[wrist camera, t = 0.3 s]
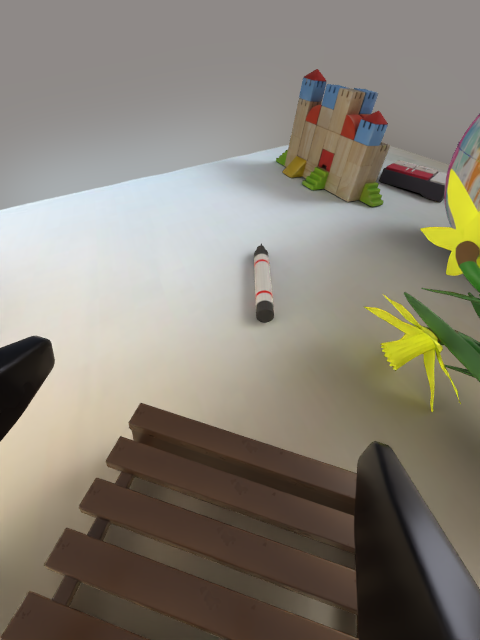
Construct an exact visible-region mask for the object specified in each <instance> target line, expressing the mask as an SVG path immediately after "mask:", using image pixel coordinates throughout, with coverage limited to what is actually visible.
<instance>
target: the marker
mask: <svg viewBox="0 0 480 640" xmlns="http://www.w3.org/2000/svg"><path fill="white" fill-rule="evenodd" d="M254 271H255V299H256V316H257V319H258V320H259V321H261V322H269V321H271V320H272V319H273V318H274V310H273V297H272V286H271V276H270V266H269V258H268V252H267V250H265V248H264V246H262V244H261V246H258V247H257V250H256V251H255V253H254Z"/></svg>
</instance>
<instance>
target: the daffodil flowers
mask: <svg viewBox="0 0 480 640" xmlns="http://www.w3.org/2000/svg"><path fill="white" fill-rule="evenodd" d="M447 194H448V204H449V207H450V210H451V213H452V216H453V219H454V222H455V226H456V229H453V228H451V227H427V228H421V229H420V230H421V231H422V232H423V233H424V235H425V236H426V237H427V239H428V240H429V241H430V242H432V243H433V244H435V245H436V246H439V247H442V248H445V249H448V250H451V254H450V256H449V259H448V264H447V270H446V274H447V275H453V276H456V275H459V274H464V276H465V277H466V279H467V280H468V281H469V282H470V283H471V284H472V286H473V287H474V288H475V289H476V290H477V291H478V292H479V293H480V211H479V212H478V211H477V209H476V207H475V205H474V204H473V202H472V200H471V198H470V196H469V194H468V193H467V191H466V189H465V187H464V186H463V184H462V182H461V181H460V179H459V177H458V176H457V175H456V173H455V172H454V171H453V170H452V169H451V170H450V176H449V183H448V188H447ZM422 289H425V288H422ZM425 290H428V291H432V292H437V293H442V294H447V295H451V296H455V297H458V298H462V299H465V300H469V301H471V303H472V305H473V307H474V309H475V311H476V313H477V315H478V316H479V318H480V299H479V298H475V297H474V296H473V295H472V294H471V293H468V295H469V296H467V295H462V294H458V293H454V292H448V291H440V290H432V289H425ZM383 295H384V294H383ZM404 295H405V297H406V298H407V300H408V302H409V303H410V304H411V306H412V307H413V308H414V310H415V311H416V312H417V314H418V315H419V316H420V317H421V318H422V320H423V321H424V322H425V323H426V324H427V325H428V327H424V326H421V325H420V324H418V322H417V321H416V320H415V318H414V317H413V316H412V314H411V313H409V312H408V311H407V310H406V309H405V308H404V307H403V306H402V305H401V304H398V303H396V302H394V301H392V300H390V299H389V298H388V297H386V296H385V295H384V296H385V297H386V298H387V300H388V301H389V302H390V303H391V304H392V305H393V306H394V307H395V308H396V309H397V310H398V311H399V312H400V313H401V314H402V315H403V316H404V318H405V319H406V320H408V321H409V322H411V323H412V324H414V325H415V326H417V327H415V326H413V325H410V324H407V323H405V322H402V321H401V320H399V319H398V318H396V317H394V316H393V315H391V314H390V313H388V312H386V311H384V310H381V309H379V308H373V307H365V308H366V309H367V310H369V311H370V312H372V313H373V314H375V315H377V316H378V317H380V318H382V319H383V320H385V321H387V322H388V323H390V324H391V325H393V326H395V327H396V328H398V329H399V330H401V331H402V332H404V333H406V334H404V336H403V337H402V338H401V339H400V340H397V341H393V342H387V343H381V345H382V346H381V347H382V348H384V349H383V350H382V351H383V352H385V355H384V356H385V357H388V359H387V361H388V362H391V363H390V366H393V369H395V371H396V370H397V369H398V368H400V367H401V366H402V365H404V364H405V363H407V362H408V361H410V360H412V359H413V358H415V357H417V356H418V355H420V354H424V365H425V369H426V372H427V376H428V380H429V385H430V390H431V400H430V406H431V411H432V412H433V401H434V388H435V387H434V363H435V350H436V355H437V358H438V361H439V364H440V366H441V368H442V370H443V371H444V372H445V374H446V375H447V376H448V378H449V379H450V381H451V383H452V385H453V388H454V390H455V392H456V395H457V397H458V391H457V389H456V387H455V385H454V383H453V381H452V379H451V378H450V376H449V374H448V371H447V369H446V367H447V368H450V369H453V370H456V371H459V372H462V373H464V374H467V375H469V376H472V377H474V378H476V379H477V380H478V381H479V382H480V342H478V341H476V340H474V339H473V338H471V337H469V336H467V335H465V334H463V333H460V332H458V331H456V330H453V329H452V328H451V327H450V326H449V325H448V324H447V323H445V322H444V321H443V320H442V319H441V318H440V317H438V316H437V315H436V314H435V313H434V312H432V311H431V310H430V309H429V308H428V307H426V306H425V305H423V304H422V303H421V302H419V301H418V300H417V299H415V298H414V297H412V296H411V295H409V294H408V293H406V292H404ZM479 296H480V294H479ZM426 328H427V329H426ZM441 345H445V346H446V347H447V348H448V349H449V350H450V352H451V353H452V354H453V355H454V356H455V357H456V358H457V359H458V360H459V361H460V362H461V363H462V364H463V365H464V366H465V367H466V368H467V369H468V370H467V369H462V368H458V367H453V366H448V365H444V363H443V361H442V358H441V355H440V352H441V351H442V350H443V348H442V346H441ZM458 400H459V398H458ZM459 402H460V401H459ZM460 404H461V403H460Z"/></svg>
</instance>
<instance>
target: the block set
mask: <svg viewBox="0 0 480 640" xmlns="http://www.w3.org/2000/svg"><path fill="white" fill-rule="evenodd" d="M325 86H326V80H325V78H324V77H323V76H322V74H321V73H320V72H319V70H318V69H316V70H314V71H313V72H311V73H309V74H308V75H306V76H304V78H303V82H302V86H301V91H300V96H299V97H300V98H299V101H298V106H297V111H296V115H295V120H294V124H293V129H292V135H291V138H290V143H289V148H288V150H286V151H285V153H282V155H280V156H279V158H276V162H278V163H280V164H282V165H284V166H285V167H286V168H285V169H284V170H283V172H282V173H284V174H286V175H287V176H289V177H291V178H294V177H304V178H306V180H303V182H302V184H303V185H304V186H306V187H308V188H309V189H311V190H318V189H325V190H327V191H329V192H331V193H332V194H334V195H336V196H338V197H340V198H341V199H343V200H345V201H347V202H350V201H356V200H360V201H362V202H364V203H366V204H367V205H369V206H371V207H373V206H379V205H382V204H383V200H381V197H382V195H380V194H379V192H380V189H378V188H377V187H378V185H379V184H378V183H377V182H376V180H377V177H378V175H379V172H380V170H381V167H382V165H383V163H384V160H385V157H386V155H387V152H388V150H389V147H390V145H388V144H385V143H383V142H381V141H382V138H383V136H384V133H385V131H386V128H387V124H388V123H387V122H386V120H385V119H384V118H383V116H382V114H381V113H380V112H379V111H377V112H375V113H373V114H371V112H372V110H373V107H374V104H375V101H376V99H377V96H378V93H377V92H372V91H368V90H366V89H357V88H354V89H350V88H346V87H342V86H340V85H331V84H327V86H326V90H325ZM324 90H325V94H324ZM323 94H324V98H323ZM322 98H323V102H322V105H321V101H322Z"/></svg>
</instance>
